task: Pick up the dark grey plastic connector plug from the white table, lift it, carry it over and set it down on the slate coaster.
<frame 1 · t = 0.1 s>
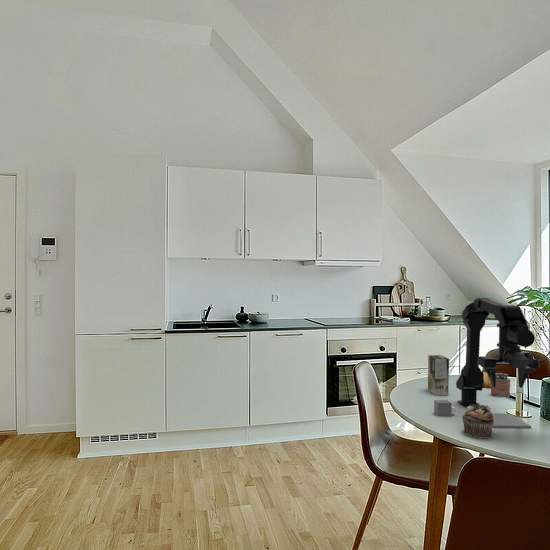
hand: (507, 387, 147), 15 cm above the table, fingers open, 9 cm apart
lighter: (500, 396, 189), on the table
coffee box: (437, 393, 193), on the table
cupcake: (477, 434, 143), on the table
croissant: (485, 386, 206), on the table
coaster: (502, 421, 156), on the table
plug: (442, 414, 162), on the table
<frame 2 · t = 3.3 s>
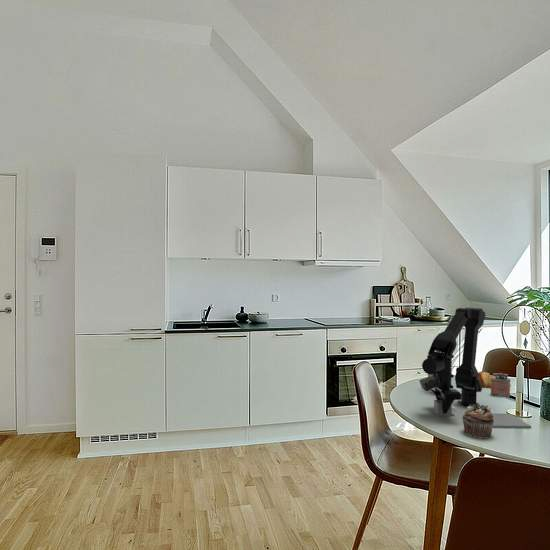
hand: (442, 411, 162), 1 cm above the table, fingers closed on plug, 4 cm apart
plug: (442, 414, 162), on the table, touching gripper
everything else where it was.
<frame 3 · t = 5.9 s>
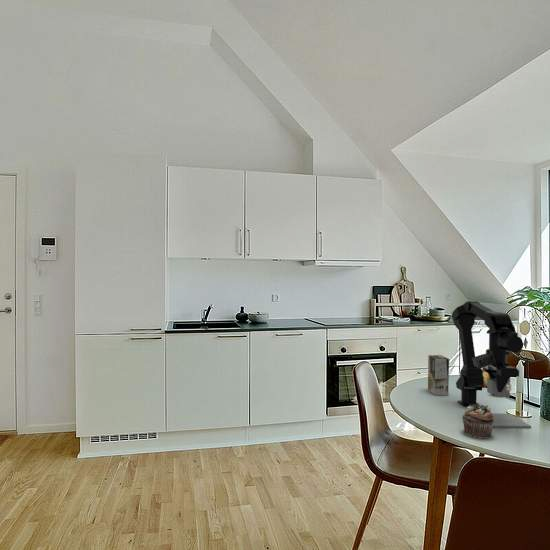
hand: (497, 390, 156), 11 cm above the table, fingers closed on plug, 4 cm apart
plug: (496, 393, 156), point 10 cm above the table, touching gripper
everything else where it was.
when the fingers open (3 cm above the table, at t = 8.3 s): plug drops 1 cm, resting on coaster.
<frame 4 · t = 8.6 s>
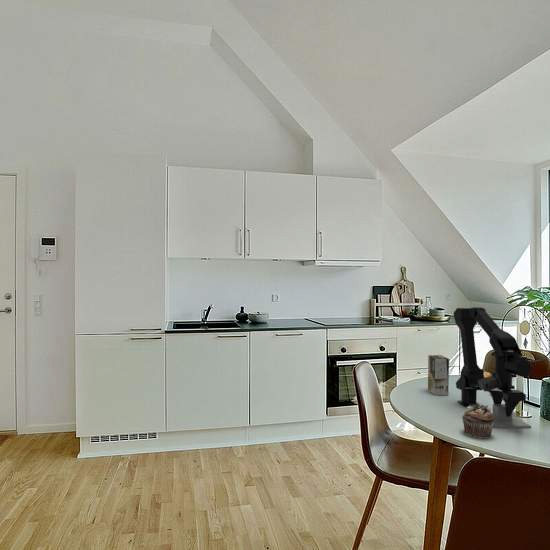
hand: (502, 413, 156), 3 cm above the table, fingers open, 7 cm apart
plug: (502, 419, 156), point 1 cm above the table, touching coaster
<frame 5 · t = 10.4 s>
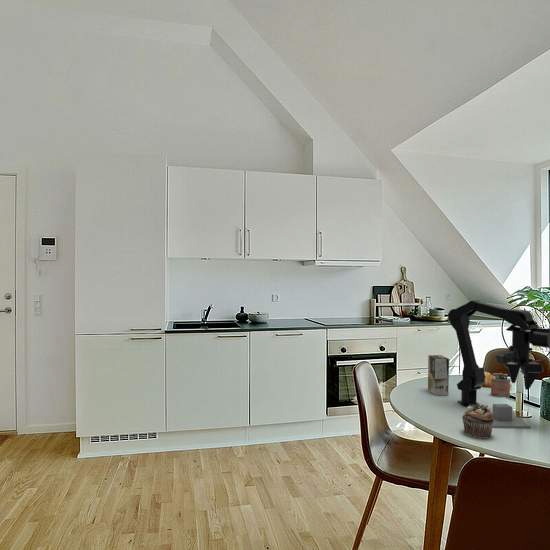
hand: (520, 386, 159), 12 cm above the table, fingers open, 9 cm apart
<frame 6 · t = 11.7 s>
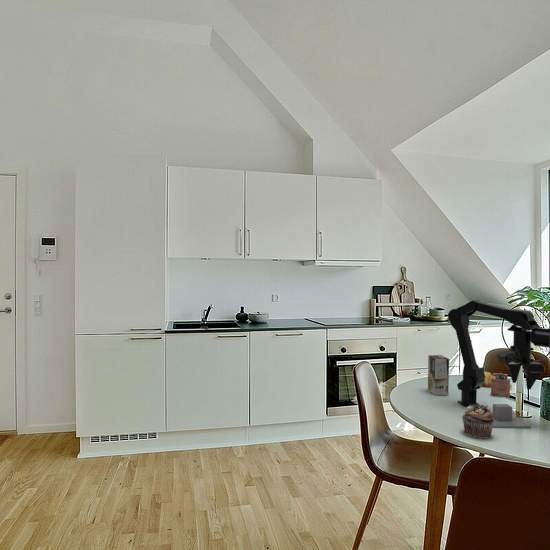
hand: (521, 385, 160), 12 cm above the table, fingers open, 9 cm apart
at the end: plug 0.1 cm from the coaster (horizontally); plug point 0.8 cm above the table; the gripper is holding nothing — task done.
